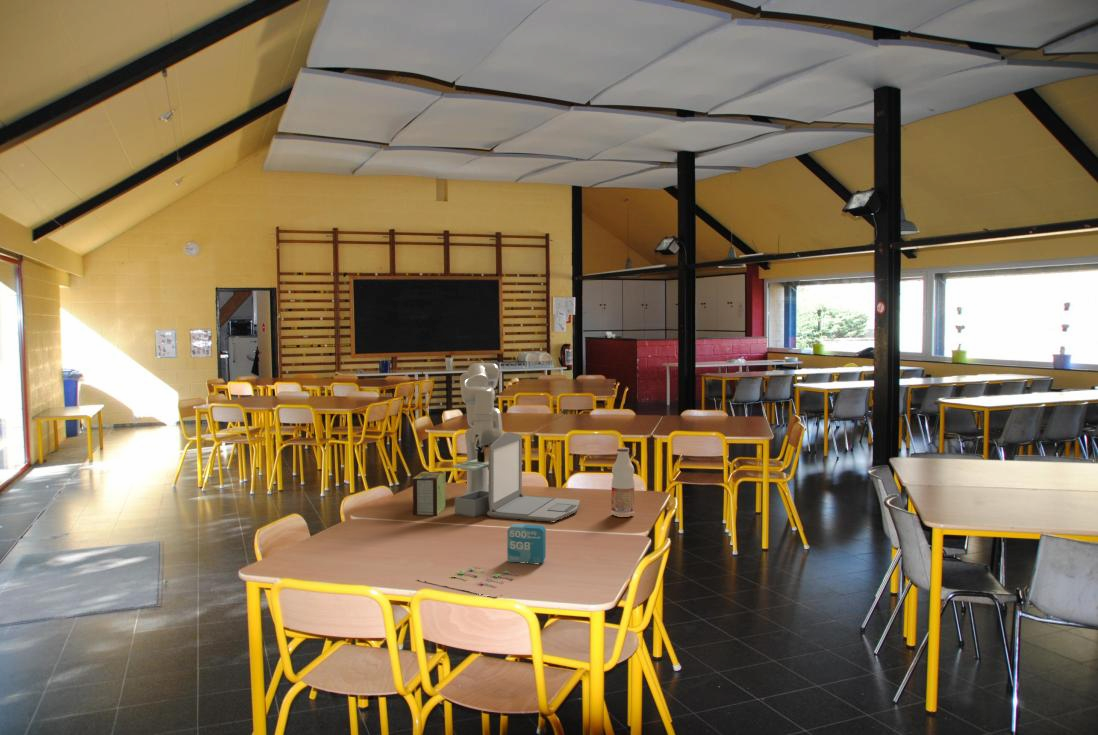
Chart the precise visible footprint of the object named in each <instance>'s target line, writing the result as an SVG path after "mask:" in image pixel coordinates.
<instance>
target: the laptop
mask: <svg viewBox="0 0 1098 735" xmlns="http://www.w3.org/2000/svg"><path fill="white" fill-rule="evenodd" d="M522 451H523V435H522V434H519V433H516V432H515V433H514V432H510V431H507V432H503V435H502V436H500V437H499V438H498V439H497V440H496V441H495V442H494V443H493V444H491V445H490V447H489V467H488V485H489V489H488V491H489V508H490V510H489V511H488V512H487V513H486V515H487V516H489V517H490V518H496V519H497V518H498V519H505V520H507V519H508V520H509V519H510V520H517V519H520V521H529V520H536V521H535V522H540V521H556V520H559V519H561V518H564V517H566V516H568V515H571V514H573V513H574V514H575V513H576V512H577V511H578V509H579V506H580V503H581V500H580V499H572V498H558V497H557V498H556V497H548V496H537V495H536V496H535V495H524V494H523V493H522V492H523V491H522V490H523V487H522V486H523V478H522V477H523V462H522V461H523V452H522ZM574 514H573V515H574ZM571 516H572V515H571ZM566 518H567V517H566ZM564 519H565V518H564ZM561 520H562V519H561ZM559 521H560V520H559ZM556 522H557V521H556Z"/></svg>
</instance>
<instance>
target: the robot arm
mask: <svg viewBox="0 0 1098 735" xmlns="http://www.w3.org/2000/svg"><path fill="white" fill-rule="evenodd" d="M499 379H500V369H499V367H498V365H497V364H496V363H494V362H475V363H472V364H470V365H469V367H467V372H466V371H465V372H463V373H462V374H461V375H460V377H459V387H460V394H461V399H462V400H461V401H463V403H464V404H466V405H465V408H466V421H467V425H468V426H469V427H470V428H468V429H467V430H465V433H464V440H465V444H466V445H465V446H466V462H468V461H472V460H476V459H477V461H480V462H484V452H483V450H484V447H490V445H491V444H493V443H494V442H495V441H496V440H497V439H498V438H499V437H500V436H502V435H503V434H504V431H503V430H504V429H503V420H502V413H501V411H500V409H499V408H498V407H493V403H494V401H495V399H496V392H495V390H494V389H496V387H497V385H498V382H499ZM466 482H467V483H466V490H467V491H465V492H464V493H463V495H466V494H469V493H472V492H475V491H478V490H481V491H489V467H486V468H483V469H479V470H476V471H469V470H466Z"/></svg>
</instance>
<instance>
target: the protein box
mask: <svg viewBox="0 0 1098 735" xmlns="http://www.w3.org/2000/svg"><path fill="white" fill-rule="evenodd" d="M446 488H447V486H446V471H421V472H420V473H418V474H417V475H415V476H414V477H413V478H412V515H413V516H439V515H440V513H441V512H443V510H445V509H446V505H447V504H446V497H447V496H446Z"/></svg>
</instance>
